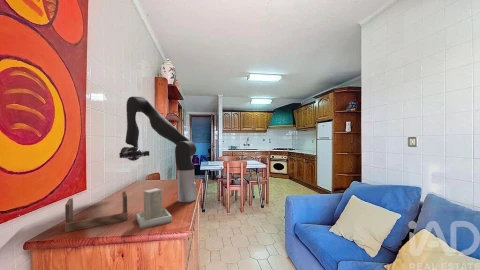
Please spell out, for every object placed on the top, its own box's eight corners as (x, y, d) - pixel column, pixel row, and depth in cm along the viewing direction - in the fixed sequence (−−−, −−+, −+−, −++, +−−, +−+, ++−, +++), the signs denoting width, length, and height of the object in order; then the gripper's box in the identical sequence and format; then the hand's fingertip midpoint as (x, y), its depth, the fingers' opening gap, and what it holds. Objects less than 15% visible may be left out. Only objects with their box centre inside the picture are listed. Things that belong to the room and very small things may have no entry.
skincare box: (157, 215, 96) (157, 187, 96) (162, 217, 93) (162, 189, 94) (143, 219, 92) (143, 190, 92) (148, 222, 89) (148, 192, 89)
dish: (165, 213, 101) (165, 208, 101) (171, 221, 90) (171, 215, 90) (136, 219, 94) (136, 213, 94) (140, 228, 84) (140, 222, 84)
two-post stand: (125, 212, 104) (125, 191, 104) (127, 220, 94) (127, 196, 94) (69, 222, 93) (69, 198, 93) (65, 232, 83) (64, 205, 83)
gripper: (118, 147, 120) (119, 148, 106) (145, 146, 128) (150, 146, 114) (118, 161, 120) (120, 163, 106) (146, 159, 128) (151, 160, 114)
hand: (136, 154), depth 110 cm, fingers open, 8 cm apart
